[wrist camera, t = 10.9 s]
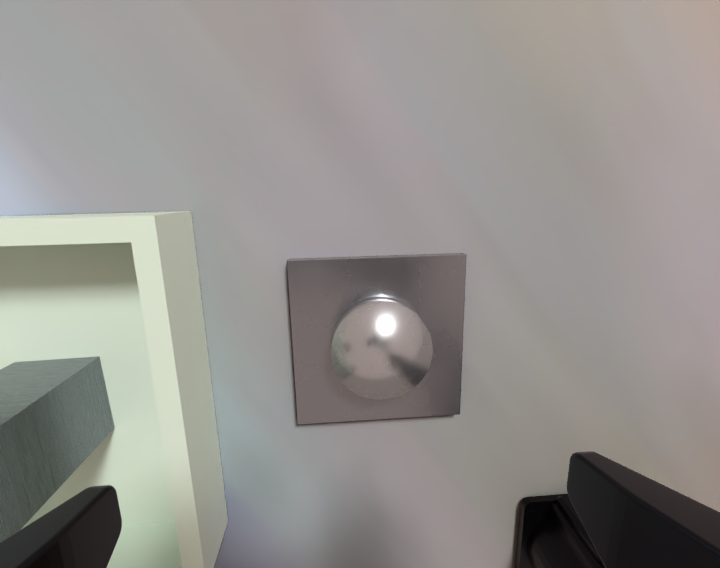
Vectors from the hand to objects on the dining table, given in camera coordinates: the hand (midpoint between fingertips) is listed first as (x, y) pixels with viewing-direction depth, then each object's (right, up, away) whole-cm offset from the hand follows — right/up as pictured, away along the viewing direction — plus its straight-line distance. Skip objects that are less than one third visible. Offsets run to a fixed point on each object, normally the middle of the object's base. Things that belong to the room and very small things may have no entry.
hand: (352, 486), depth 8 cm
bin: (-15, -2, +13) cm, 20 cm away
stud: (+1, +1, +13) cm, 13 cm away
